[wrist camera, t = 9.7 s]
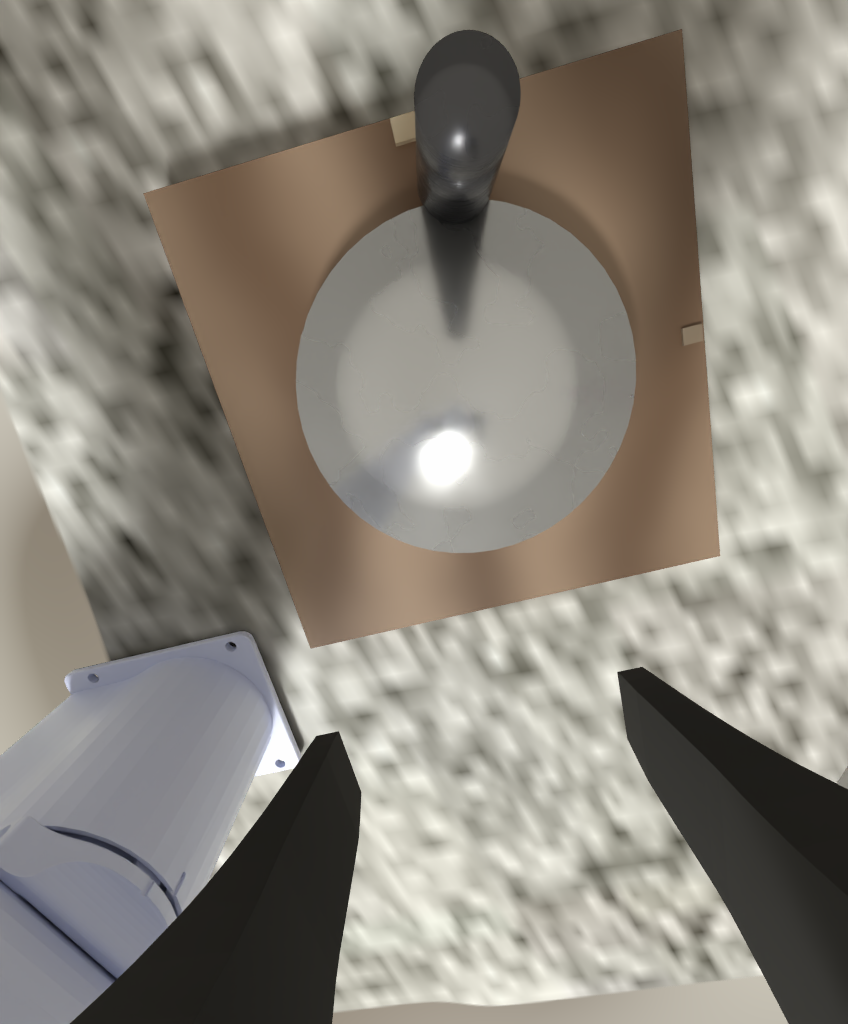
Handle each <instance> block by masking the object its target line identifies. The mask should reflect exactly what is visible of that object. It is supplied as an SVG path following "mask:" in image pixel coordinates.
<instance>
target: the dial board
mask: <svg viewBox="0 0 848 1024" xmlns="http://www.w3.org/2000/svg"><path fill="white" fill-rule="evenodd" d="M519 80H520V88H521V100H520V107H519V112H518V116H517V119H516V122H515V125H514V128H513V131H512V134H511V137H510V140H509V143H508V145H507V148H506V151H505V154H504V157H503V160H502V163H501V166H500V169H499V172H498V175H497V178H496V181H495V184H494V187H493V189H492V192H491V195H490V198H489V200H494V201H501V202H507V203H510V204H513V205H517V206H520V207H523V208H527V209H530V210H532V211H534V212H536V213H538V214H540V215H542V216H544V217H546V218H549V219H551V220H552V221H554V222H555V223H557V224H558V225H560V226H561V227H563V228H564V229H565V230H567V231H568V232H570V233H571V234H572V235H573V236H575V237H576V238H577V239H578V240H579V241H580V242H581V243H582V244H583V245H584V246H585V247H587V248H588V249H589V250H590V252H591V253H592V254H593V255H594V256H595V258H596V259H597V260H598V261H599V263H600V264H601V265H602V266H603V268H604V269H605V271H606V272H607V274H608V275H609V277H610V279H611V280H612V282H613V284H614V285H615V287H616V289H617V291H618V293H619V296H620V298H621V300H622V303H623V305H624V307H625V310H626V312H627V316H628V320H629V323H630V327H631V330H632V334H633V341H634V348H635V356H636V385H635V394H634V403H633V407H632V412H631V416H630V420H629V424H628V427H627V430H626V433H625V435H624V438H623V441H622V443H621V446H620V448H619V450H618V452H617V454H616V456H615V458H614V460H613V462H612V464H611V466H610V467H609V469H608V470H607V472H606V473H605V475H604V476H603V478H602V479H601V480H600V482H599V483H598V485H597V486H596V487H595V488H594V489H593V491H592V492H591V493H590V494H589V495H588V496H587V497H586V499H585V500H584V501H583V502H582V503H581V504H580V505H579V506H577V507H576V508H575V509H574V510H573V511H572V512H571V513H570V514H569V515H567V516H566V517H565V518H563V519H562V520H560V521H559V522H558V523H556V524H555V525H553V526H552V527H550V528H549V529H547V530H545V531H543V532H541V533H539V534H538V535H536V536H534V537H532V538H529V539H527V540H524V541H522V542H519V543H517V544H514V545H511V546H507V547H503V548H500V549H496V550H491V551H483V552H476V553H449V552H440V551H432V550H428V549H424V548H420V547H416V546H412V545H410V544H407V543H404V542H402V541H399V540H396V539H394V538H392V537H390V536H389V535H387V534H385V533H383V532H381V531H379V530H377V529H376V528H374V527H373V526H371V525H370V524H369V523H367V522H366V521H364V520H363V519H361V518H360V517H359V516H358V515H357V514H356V513H355V512H353V511H352V510H351V509H350V508H349V507H348V506H347V505H346V504H345V503H344V502H343V501H342V500H341V499H340V497H339V496H338V495H337V494H336V493H335V492H334V491H333V489H332V488H331V487H330V485H329V484H328V482H327V481H326V479H325V478H324V476H323V475H322V473H321V472H320V470H319V468H318V466H317V464H316V462H315V460H314V458H313V456H312V454H311V452H310V450H309V447H308V444H307V441H306V438H305V435H304V433H303V430H302V425H301V420H300V416H299V411H298V405H297V393H296V366H297V357H298V351H299V345H300V339H301V335H302V332H303V328H304V325H305V322H306V319H307V315H308V313H309V311H310V309H311V306H312V304H313V302H314V300H315V297H316V295H317V293H318V291H319V290H320V288H321V286H322V285H323V283H324V282H325V280H326V278H327V277H328V275H329V274H330V272H331V271H332V270H333V268H334V267H335V266H336V265H337V263H338V262H339V261H340V260H341V259H342V257H343V256H344V255H345V254H346V253H347V252H348V251H349V250H350V249H351V248H352V247H353V246H354V245H355V244H356V243H357V242H359V241H360V240H361V239H362V238H363V237H364V236H365V235H367V234H368V233H370V232H371V231H373V230H374V229H375V228H377V227H378V226H380V225H381V224H383V223H384V222H386V221H388V220H390V219H392V218H394V217H396V216H398V215H400V214H402V213H404V212H406V211H408V210H411V209H414V208H417V207H420V206H423V204H422V202H421V200H420V197H419V194H418V189H417V169H416V136H415V111H412V112H408V113H405V114H402V115H399V116H395V117H392V118H389V119H386V120H383V121H379V122H376V123H373V124H369V125H366V126H363V127H360V128H356V129H353V130H350V131H346V132H343V133H340V134H337V135H333V136H330V137H327V138H324V139H320V140H317V141H314V142H310V143H307V144H304V145H301V146H297V147H294V148H291V149H287V150H284V151H281V152H278V153H274V154H271V155H268V156H265V157H261V158H258V159H255V160H251V161H248V162H245V163H242V164H238V165H235V166H232V167H229V168H225V169H222V170H219V171H215V172H212V173H209V174H206V175H202V176H199V177H196V178H192V179H189V180H186V181H183V182H179V183H176V184H173V185H170V186H166V187H163V188H160V189H156V190H153V191H150V192H147V193H143V194H144V196H145V199H146V202H147V205H148V207H149V210H150V213H151V215H152V218H153V221H154V224H155V226H156V229H157V232H158V235H159V237H160V240H161V243H162V245H163V248H164V251H165V254H166V256H167V259H168V262H169V264H170V267H171V270H172V273H173V275H174V278H175V281H176V283H177V286H178V289H179V292H180V294H181V297H182V300H183V303H184V305H185V308H186V311H187V313H188V316H189V319H190V322H191V324H192V327H193V330H194V332H195V335H196V338H197V341H198V343H199V346H200V349H201V352H202V354H203V357H204V360H205V362H206V365H207V368H208V371H209V373H210V376H211V379H212V381H213V384H214V387H215V390H216V392H217V395H218V398H219V401H220V403H221V406H222V409H223V411H224V414H225V417H226V420H227V422H228V425H229V428H230V430H231V433H232V436H233V439H234V441H235V444H236V447H237V450H238V452H239V455H240V458H241V460H242V463H243V466H244V469H245V471H246V474H247V477H248V479H249V482H250V485H251V488H252V490H253V493H254V496H255V498H256V501H257V504H258V507H259V509H260V512H261V515H262V518H263V520H264V523H265V526H266V528H267V531H268V534H269V537H270V539H271V542H272V545H273V547H274V550H275V553H276V556H277V558H278V561H279V564H280V567H281V569H282V572H283V575H284V577H285V580H286V583H287V586H288V588H289V591H290V594H291V596H292V599H293V602H294V605H295V607H296V610H297V613H298V616H299V618H300V621H301V624H302V626H303V629H304V632H305V635H306V637H307V640H308V643H309V645H310V648H315V647H319V646H324V645H328V644H333V643H337V642H342V641H346V640H350V639H355V638H359V637H364V636H368V635H373V634H377V633H381V632H386V631H390V630H395V629H399V628H403V627H408V626H412V625H417V624H421V623H426V622H430V621H434V620H439V619H443V618H448V617H452V616H456V615H461V614H465V613H470V612H474V611H479V610H483V609H487V608H492V607H496V606H501V605H505V604H509V603H514V602H518V601H523V600H527V599H532V598H536V597H540V596H545V595H549V594H554V593H558V592H563V591H567V590H571V589H576V588H580V587H585V586H589V585H593V584H598V583H602V582H607V581H611V580H616V579H620V578H624V577H629V576H633V575H638V574H642V573H646V572H651V571H655V570H660V569H664V568H669V567H673V566H677V565H682V564H686V563H691V562H695V561H699V560H704V559H708V558H713V557H717V556H720V549H719V535H718V522H717V508H716V494H715V480H714V466H713V452H712V438H711V425H710V411H709V397H708V383H707V369H706V355H705V341H704V328H703V314H702V300H701V286H700V272H699V258H698V244H697V231H696V217H695V203H694V189H693V175H692V161H691V147H690V134H689V120H688V106H687V92H686V78H685V64H684V50H683V37H682V29H681V30H677V31H674V32H671V33H668V34H664V35H661V36H658V37H654V38H651V39H648V40H645V41H641V42H638V43H635V44H631V45H628V46H625V47H622V48H618V49H615V50H612V51H609V52H605V53H602V54H599V55H595V56H592V57H589V58H586V59H582V60H579V61H576V62H573V63H569V64H566V65H563V66H559V67H556V68H553V69H550V70H546V71H543V72H540V73H536V74H533V75H530V76H527V77H523V78H520V79H519Z"/></svg>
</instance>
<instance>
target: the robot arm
mask: <svg viewBox="0 0 848 1024" xmlns="http://www.w3.org/2000/svg"><path fill="white" fill-rule="evenodd" d="M229 642H233V643H235V645H236V647H233V646H231V645H230V644H229ZM617 673H618V680H619V686H620V693H621V699H622V706H623V712H624V719H625V726H626V732H627V739H628V741H629V743H630V745H631V747H632V749H633V751H634V753H635V755H636V757H637V759H638V761H639V763H640V765H641V767H642V769H643V771H644V773H645V775H646V777H647V779H648V781H649V783H650V784H651V786H652V788H653V789H654V791H655V792H656V794H657V796H658V797H659V799H660V800H661V802H662V804H663V805H664V807H665V808H666V810H667V812H668V813H669V815H670V816H671V818H672V820H673V821H674V823H675V824H676V826H677V828H678V829H679V831H680V832H681V834H682V835H683V837H684V839H685V840H686V842H687V843H688V845H689V847H690V848H691V850H692V851H693V853H694V854H695V856H696V858H697V859H698V861H699V862H700V864H701V866H702V867H703V869H704V870H705V872H706V873H707V875H708V877H709V878H710V880H711V881H712V883H713V885H714V886H715V888H716V889H717V891H718V893H719V895H720V896H721V898H722V900H723V901H724V903H725V905H726V906H727V908H728V910H729V912H730V913H731V915H732V917H733V919H734V921H735V923H736V924H737V926H738V928H739V930H740V932H741V934H742V936H743V938H744V939H745V941H746V943H747V945H748V947H749V949H750V951H751V953H752V954H753V956H754V958H755V960H756V962H757V964H758V966H759V968H760V969H761V971H762V973H763V975H764V977H765V979H766V981H767V983H768V985H769V987H770V988H771V990H772V992H773V994H774V996H775V998H776V1000H777V1002H778V1004H779V1006H780V1008H781V1010H782V1011H783V1013H784V1015H785V1017H786V1019H787V1021H788V1023H789V1024H848V789H847V788H844V787H842V786H840V785H838V784H836V783H834V782H832V781H830V780H828V779H826V778H824V777H822V776H820V775H818V774H816V773H814V772H813V771H811V770H809V769H807V768H805V767H803V766H801V765H799V764H797V763H795V762H793V761H791V760H789V759H787V758H786V757H784V756H782V755H780V754H778V753H776V752H775V751H773V750H771V749H769V748H768V747H766V746H764V745H762V744H761V743H759V742H757V741H756V740H754V739H752V738H750V737H749V736H747V735H745V734H744V733H742V732H740V731H739V730H737V729H735V728H734V727H732V726H731V725H729V724H727V723H726V722H724V721H723V720H721V719H720V718H718V717H716V716H715V715H713V714H712V713H710V712H708V711H707V710H705V709H704V708H702V707H701V706H699V705H698V704H696V703H695V702H693V701H692V700H690V699H689V698H687V697H686V696H684V695H683V694H681V693H680V692H678V691H677V690H675V689H674V688H672V687H671V686H670V685H668V684H667V683H665V682H664V681H662V680H661V679H659V678H658V677H656V676H655V675H654V674H652V673H651V672H649V671H648V670H646V669H645V668H643V667H640V668H635V669H630V670H625V671H621V672H617ZM95 674H96V675H97V676H98V677H96V676H95ZM65 684H66V686H67V688H68V690H69V692H70V693H71V695H70V696H69V697H68V698H67V699H66V700H65V701H64V702H62V703H61V704H60V705H59V706H58V707H56V708H55V709H54V710H53V711H52V712H51V713H49V714H48V715H47V716H46V717H45V718H44V719H42V720H41V721H40V722H39V723H38V724H36V725H35V726H34V727H33V728H32V729H31V730H30V731H28V732H27V733H26V734H25V735H24V736H22V737H21V738H20V739H19V740H18V741H17V742H15V743H14V744H13V745H12V746H11V747H10V748H8V750H6V751H5V752H4V753H3V754H2V755H0V1024H332V1017H333V1006H334V995H335V985H336V976H337V969H338V962H339V954H340V948H341V942H342V936H343V930H344V924H345V918H346V912H347V907H348V901H349V895H350V889H351V883H352V877H353V871H354V865H355V858H356V852H357V846H358V839H359V826H360V809H361V790H360V788H359V785H358V782H357V779H356V777H355V774H354V771H353V769H352V766H351V763H350V760H349V758H348V755H347V752H346V750H345V747H344V744H343V741H342V739H341V736H340V733H339V731H338V732H334V733H329V734H324V735H319V736H316V737H315V739H314V740H313V742H312V743H311V744H310V746H309V747H308V749H307V750H306V752H305V753H304V755H303V756H302V758H301V753H300V751H299V748H298V746H297V744H296V741H295V739H294V736H293V734H292V731H291V729H290V726H289V724H288V721H287V719H286V716H285V714H284V711H283V709H282V706H281V704H280V702H279V699H278V697H277V694H276V692H275V689H274V687H273V684H272V682H271V679H270V677H269V674H268V672H267V669H266V667H265V664H264V662H263V660H262V657H261V655H260V652H259V650H258V647H257V645H256V642H255V640H254V638H253V636H252V635H251V634H250V633H249V632H246V631H239V632H235V633H231V634H226V635H222V636H218V637H213V638H209V639H205V640H200V641H196V642H192V643H187V644H183V645H179V646H174V647H170V648H166V649H162V650H157V651H153V652H149V653H144V654H140V655H136V656H131V657H127V658H123V659H118V660H114V661H110V662H105V663H101V664H97V665H92V666H88V667H84V668H79V669H75V670H73V671H72V672H70V673H69V674H67V676H66V677H65ZM279 759H281V760H284V761H280V760H279ZM293 768H294V769H293ZM288 769H293V771H292V772H291V774H290V775H289V777H288V778H287V779H286V781H285V782H284V784H283V785H282V787H281V788H280V790H279V791H278V792H277V794H276V795H275V797H274V798H273V799H272V801H271V802H270V804H269V805H268V807H267V808H266V809H265V811H264V812H263V814H262V815H261V816H260V818H259V819H258V820H257V821H256V823H255V824H254V825H253V827H252V828H251V829H250V831H249V832H248V833H247V835H246V836H245V837H244V839H243V840H242V841H241V843H240V844H239V845H238V846H237V848H236V849H235V850H234V852H233V853H232V854H231V856H230V857H229V858H228V859H227V861H226V862H225V863H224V864H223V866H222V867H221V868H220V869H219V870H218V872H217V873H216V874H215V875H214V876H213V878H212V879H211V880H210V881H209V882H208V880H209V878H210V876H211V874H212V871H213V869H214V867H215V864H216V862H217V860H218V858H219V855H220V853H221V851H222V849H223V846H224V844H225V842H226V840H227V837H228V835H229V833H230V830H231V828H232V826H233V824H234V821H235V819H236V817H237V815H238V812H239V810H240V808H241V805H242V803H243V801H244V799H245V796H246V794H247V792H248V790H249V787H250V785H251V783H252V780H253V778H254V776H259V775H264V774H269V773H274V772H278V771H283V770H288Z"/></svg>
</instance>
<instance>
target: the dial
mask: <svg viewBox="0 0 848 1024" xmlns="http://www.w3.org/2000/svg"><path fill="white" fill-rule="evenodd" d="M520 100H521V88H520V80H519V75H518V71H517V68H516V65H515V63H514V61H513V59H512V57H511V55H510V54H509V52H508V51H507V50H506V48H505V47H504V46H503V45H502V44H501V43H500V42H499V41H498V40H496V39H495V38H494V37H492V36H490V35H488V34H486V33H483V32H480V31H475V30H463V31H457V32H455V33H452V34H450V35H448V36H446V37H444V38H443V39H441V40H440V41H439V42H437V43H436V44H435V45H434V46H433V47H432V48H431V50H430V51H429V52H428V53H427V55H426V57H425V58H424V60H423V62H422V64H421V66H420V69H419V72H418V75H417V78H416V83H415V92H414V103H415V136H416V169H417V189H418V194H419V197H420V200H421V202H422V204H423V206H420V207H417V208H414V209H411V210H408V211H406V212H404V213H402V214H400V215H398V216H396V217H394V218H392V219H390V220H388V221H386V222H384V223H383V224H381V225H380V226H378V227H377V228H375V229H374V230H373V231H371V232H370V233H368V234H367V235H365V236H364V237H363V238H362V239H361V240H360V241H359V242H357V243H356V244H355V245H354V246H353V247H352V248H351V249H350V250H349V251H348V252H347V253H346V254H345V255H344V256H343V257H342V259H341V260H340V261H339V262H338V263H337V265H336V266H335V267H334V268H333V270H332V271H331V272H330V274H329V275H328V277H327V278H326V280H325V282H324V283H323V285H322V286H321V288H320V290H319V291H318V293H317V295H316V297H315V300H314V302H313V304H312V306H311V309H310V311H309V313H308V315H307V319H306V322H305V325H304V328H303V332H302V335H301V339H300V345H299V351H298V357H297V366H296V393H297V405H298V411H299V416H300V420H301V425H302V430H303V433H304V435H305V438H306V441H307V444H308V447H309V450H310V452H311V454H312V456H313V458H314V460H315V462H316V464H317V466H318V468H319V470H320V472H321V473H322V475H323V476H324V478H325V479H326V481H327V482H328V484H329V485H330V487H331V488H332V489H333V491H334V492H335V493H336V494H337V495H338V496H339V497H340V499H341V500H342V501H343V502H344V503H345V504H346V505H347V506H348V507H349V508H350V509H351V510H352V511H353V512H355V513H356V514H357V515H358V516H359V517H360V518H361V519H363V520H364V521H366V522H367V523H369V524H370V525H371V526H373V527H374V528H376V529H377V530H379V531H381V532H383V533H385V534H387V535H389V536H390V537H392V538H394V539H396V540H399V541H402V542H404V543H407V544H410V545H412V546H416V547H420V548H424V549H428V550H432V551H440V552H449V553H476V552H483V551H491V550H496V549H500V548H503V547H507V546H511V545H514V544H517V543H519V542H522V541H524V540H527V539H529V538H532V537H534V536H536V535H538V534H539V533H541V532H543V531H545V530H547V529H549V528H550V527H552V526H553V525H555V524H556V523H558V522H559V521H560V520H562V519H563V518H565V517H566V516H567V515H569V514H570V513H571V512H572V511H573V510H574V509H575V508H576V507H577V506H579V505H580V504H581V503H582V502H583V501H584V500H585V499H586V497H587V496H588V495H589V494H590V493H591V492H592V491H593V489H594V488H595V487H596V486H597V485H598V483H599V482H600V480H601V479H602V478H603V476H604V475H605V473H606V472H607V470H608V469H609V467H610V466H611V464H612V462H613V460H614V458H615V456H616V454H617V452H618V450H619V448H620V446H621V443H622V441H623V438H624V435H625V433H626V430H627V427H628V424H629V420H630V416H631V412H632V407H633V403H634V394H635V385H636V356H635V348H634V341H633V334H632V330H631V327H630V323H629V320H628V316H627V312H626V310H625V307H624V305H623V303H622V300H621V298H620V296H619V293H618V291H617V289H616V287H615V285H614V284H613V282H612V280H611V279H610V277H609V275H608V274H607V272H606V271H605V269H604V268H603V266H602V265H601V264H600V263H599V261H598V260H597V259H596V258H595V256H594V255H593V254H592V253H591V252H590V250H589V249H588V248H587V247H585V246H584V245H583V244H582V243H581V242H580V241H579V240H578V239H577V238H576V237H575V236H573V235H572V234H571V233H570V232H568V231H567V230H565V229H564V228H563V227H561V226H560V225H558V224H557V223H555V222H554V221H552V220H551V219H549V218H546V217H544V216H542V215H540V214H538V213H536V212H534V211H532V210H530V209H527V208H523V207H520V206H517V205H513V204H510V203H507V202H501V201H494V200H489V198H490V195H491V192H492V189H493V187H494V184H495V181H496V178H497V175H498V172H499V169H500V166H501V163H502V160H503V157H504V154H505V151H506V148H507V145H508V143H509V140H510V137H511V134H512V131H513V128H514V125H515V122H516V119H517V116H518V112H519V107H520Z"/></svg>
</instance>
